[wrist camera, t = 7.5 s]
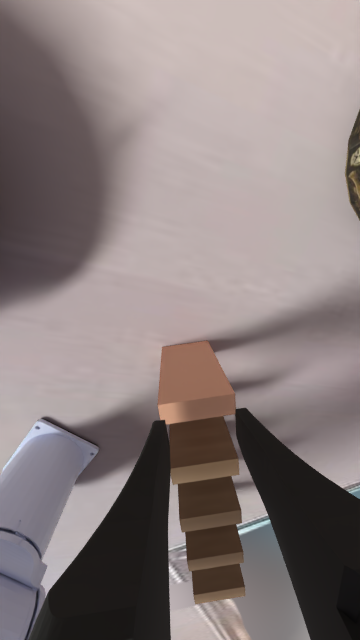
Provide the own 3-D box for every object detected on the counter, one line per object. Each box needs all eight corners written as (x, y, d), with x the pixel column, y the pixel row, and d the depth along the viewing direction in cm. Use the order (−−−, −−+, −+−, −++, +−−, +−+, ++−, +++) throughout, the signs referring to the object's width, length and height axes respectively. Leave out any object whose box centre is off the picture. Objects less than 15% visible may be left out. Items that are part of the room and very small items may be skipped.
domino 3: (218, 464, 26) (243, 562, 17) (182, 469, 26) (189, 571, 17) (218, 455, 26) (243, 551, 17) (180, 460, 26) (187, 560, 17)
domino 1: (212, 395, 23) (239, 474, 14) (171, 401, 23) (172, 484, 14) (211, 384, 23) (238, 458, 14) (169, 390, 22) (169, 468, 14)
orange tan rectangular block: (208, 353, 21) (236, 413, 13) (164, 360, 21) (161, 425, 13) (207, 340, 21) (235, 393, 12) (162, 347, 21) (157, 405, 12)
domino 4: (221, 492, 28) (245, 595, 19) (186, 497, 28) (195, 604, 19) (220, 484, 27) (244, 586, 19) (185, 489, 27) (193, 595, 18)
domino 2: (215, 432, 25) (241, 522, 16) (177, 437, 24) (181, 532, 16) (215, 422, 24) (241, 510, 15) (175, 427, 24) (179, 519, 15)
